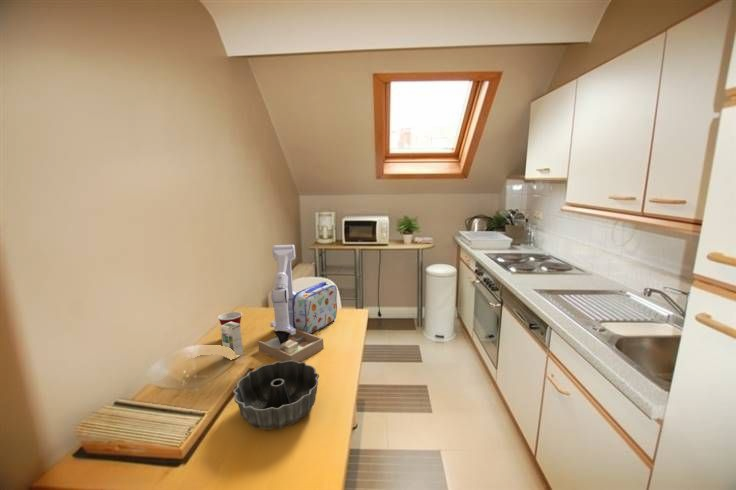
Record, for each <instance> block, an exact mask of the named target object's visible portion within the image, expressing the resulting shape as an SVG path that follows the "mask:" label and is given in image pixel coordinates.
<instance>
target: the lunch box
mask: <svg viewBox="0 0 736 490" xmlns="http://www.w3.org/2000/svg"><path fill="white" fill-rule="evenodd" d="M337 290H338V289H337V286H336V285H335V284H332V283H327V281H322V282H319V283H317V284H315V285H313V286H310V287H307V288H304V289H302V290H300V291H298V292H296V294H295V295H294V297H293V300H292V309H293V327H294V328H295V329H298V330H301V331H304V332H306V333H309V334H312V333H314V332H316V331H318V330H320V329H322V328H325V327H326V326H328V325H329V324H331V323H332V322H334V321H335V320H336V318H337V314H338V306H337V304H338V302H337V299H338V298H337V297H338V295H337V294H338V292H337Z"/></svg>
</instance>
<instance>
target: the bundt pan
mask: <svg viewBox="0 0 736 490" xmlns="http://www.w3.org/2000/svg"><path fill="white" fill-rule="evenodd" d="M319 377H320V374H319V373H317V372H316V368H315V366H313V365H310V364H307V363H306V362H303V361H300V362H297V361H284V362H281V361H279V360H277V361H275V362H273V363H267V364H264V365H261V366H258V367H257V368H256V369H254V370H251V371H248V372H247V374H246V375H245V376H243V377H241V378H240V379H239V380H238V381H237V382H236V387H235V388H234V389H233V390H232V394H234V397H233V398H234V402H235V403H236V404H237V406H238V409H239V412H240V415H241V417H242V418H243V420H244V421H246V422H248V424H249V425H250V426H251V427H252V428H259V427H260V428H261V429H264V430H272V429H274V428H275V427H276V428H277V429H282V428H284V426H285V425H294V424H295V423H297V422H298V421H300V418H306V416H307V415H308V413H309V411H310V410H311V409H312V408H313V406H314V405H315V402H316V396H317V393H318V385H319Z"/></svg>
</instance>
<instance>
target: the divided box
mask: <svg viewBox="0 0 736 490" xmlns="http://www.w3.org/2000/svg"><path fill="white" fill-rule="evenodd" d="M294 329H295V328H294ZM288 340H292V341H295V342H297V343H298V350H296V351H294V352H292V353H290V354H288V353H286V352H284V351H282V350H281V344H280V341H279V339H278V337H277V336H276V337H274V338H271V339H269V340H267V341H265V342H264V341H261V340H257V345H258V351H259V352H260V353H263V354H265V355H267V356H269V357H271V358H273V359H275V360H277V361H278V362H284V361H297V362H299V363H300V362H303V361H304V360H306V359H308V358H309V357H311V356H313V355H314V354H317V353H318V352H319V351H321V350H323V349H325V348H324V347H325V346H324V338H323V337H319V336H316V335H314V334H312V333H310V334H309V333H306V332H304V331H301V330H298V329H296V334H294V335H291V334H290V335H289V338H288Z"/></svg>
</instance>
